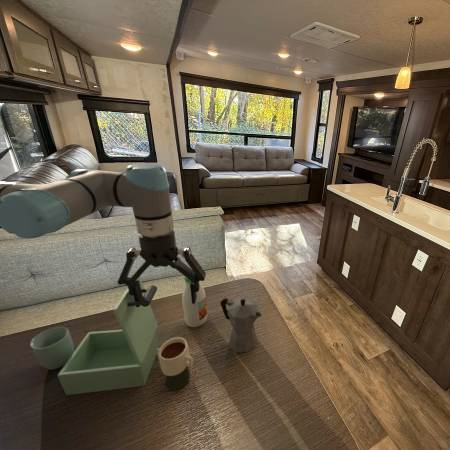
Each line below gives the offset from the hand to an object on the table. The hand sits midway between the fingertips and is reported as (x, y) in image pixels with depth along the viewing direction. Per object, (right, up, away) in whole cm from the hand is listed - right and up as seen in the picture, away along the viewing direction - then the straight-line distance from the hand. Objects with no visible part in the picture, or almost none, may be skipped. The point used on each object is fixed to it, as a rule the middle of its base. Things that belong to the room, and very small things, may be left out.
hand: (167, 302), depth 67 cm
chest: (-18, -21, +6) cm, 28 cm away
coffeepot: (+15, -19, +18) cm, 30 cm away
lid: (-9, -5, 0) cm, 10 cm away
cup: (-35, -20, +6) cm, 40 cm away
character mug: (+1, -24, +4) cm, 24 cm away
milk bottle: (-3, -14, +25) cm, 29 cm away
